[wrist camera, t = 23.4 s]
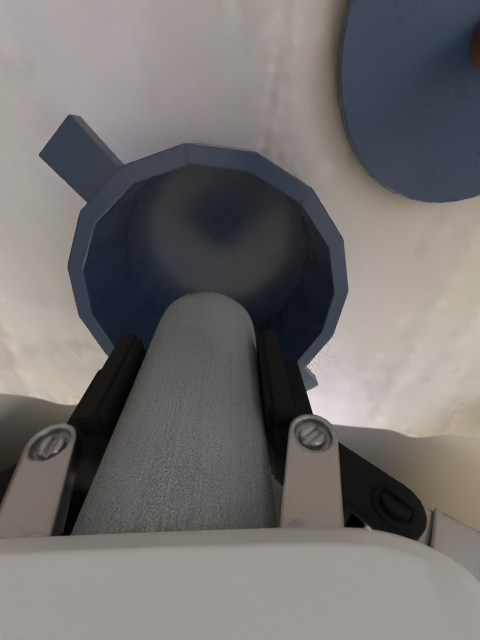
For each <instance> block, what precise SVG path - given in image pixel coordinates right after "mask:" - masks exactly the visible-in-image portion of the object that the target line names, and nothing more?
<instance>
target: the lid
mask: <svg viewBox="0 0 480 640" xmlns="http://www.w3.org/2000/svg"><path fill="white" fill-rule="evenodd" d="M338 92H339V102H340V109H341V116H342V120H343V124H344V128H345V131H346V135H347V137H348V140H349V142H350V145H351V147H352V149H353V152H354V153H355V155H356V157H357V158H358V160H359V162H360V163H361V165H362V166H363V168H364V169H365V170H366V171H367V172H368V173H369V175H370V176H371V177H372V178H373V179H374V180H376V181H377V182H378V183H379V184H380V185H382V186H383V187H385V188H386V189H388V190H390V191H391V192H393V193H395V194H398V195H400V196H403V197H406V198H409V199H412V200H417V201H422V202H436V203H443V202H453V201H459V200H464V199H468V198H472V197H475V196H478V195H480V0H349V3H348V7H347V11H346V15H345V18H344V24H343V30H342V36H341V42H340V50H339V64H338Z"/></svg>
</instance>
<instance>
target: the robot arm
mask: <svg viewBox="0 0 480 640" xmlns="http://www.w3.org/2000/svg"><path fill="white" fill-rule="evenodd" d="M145 356H146V351H145V348H144V344H143V341H142V339H138V337H137V336H136V335H135V336H121V337H120V339H119V340H118V342H117V344H116V346H115V347H114V349H113V351H112V352H111V354H110V356H109V357H108V359H107V361H106V363H105V364H104V366H103V368H102V369H100V370H99V371H98V372H97V374H96V375H95V377H94V379H93V380H92V382H91V384H90V385H89V387H88V389H87V390H86V392H85V394H84V395H83V397H82V399H81V400H80V402H79V404H78V405H77V407H76V409H75V411H74V412H73V414H72V415H71V417H70V419H69V421H68V422H67V424H56V425H53V426H50V427H48V428H46V429H44V430H42V431H40V432H39V433H38V434H36V435H35V436H34V437H33V438H32V439H31V440H30V441H29V442H28V443H27V445H26V446H25V448H24V450H23V452H22V454H21V457H20V459H19V461H18V463H16V464H15V465H13V466H11V467H10V468H8V469H6V470H5V471H3V472H1V473H0V640H480V531H478V530H476V529H474V528H472V527H470V526H468V525H467V524H465V523H462V522H461V521H459V520H457V519H455V518H453V517H452V516H450V515H448V514H446V513H444V512H442V511H440V510H439V509H437V508H435V509H434V510H431V509H429V508H427V507H425V506H423V505H422V503H421V501H420V500H419V499H418V498H417V496H416V495H415V494H414V493H413V492H412V491H411V490H410V489H408V488H407V487H406V486H405V485H403V484H402V483H400V482H399V481H397V480H395V479H394V478H392V477H391V476H389V475H388V474H386V473H385V472H383V471H382V470H380V469H379V468H377V467H375V466H374V465H373V464H371V463H369V462H368V461H366V460H365V459H363V458H362V457H360V456H359V455H357V454H356V453H354V452H353V451H351V450H350V449H348V448H346V447H345V446H344V445H342V444H341V443H339V442H338V438H337V433H336V430H335V429H334V427H333V426H332V424H331V423H330V422H328V421H327V420H326V419H324V418H322V417H321V416H317V415H314V414H313V413H312V409H311V406H310V403H309V399H308V396H307V392H306V389H305V386H304V382H303V379H302V375H301V372H300V369H299V365H298V363H297V361H284V362H283V359H282V355H281V350H280V346H279V342H278V337H277V333H276V330H262V334H257V358H258V367H259V376H260V385H261V394H262V402H263V411H264V420H265V429H266V437H267V445H268V454H269V463H270V465H271V473H272V475H274V478H275V479H276V480H277V481H278V482H279V483H280V484H281V485H283V486H284V488H283V498H282V509H281V520H280V528H258V529H228V530H198V531H172V532H146V533H121V534H96V535H73V536H70V535H71V532H72V530H73V528H74V525H75V523H76V521H77V518H78V516H79V513H80V511H81V509H82V506H83V504H84V501H85V499H86V497H87V494H88V492H89V489H90V487H91V485H92V482H93V480H94V477H95V475H96V473H97V470H98V468H99V466H100V463H101V461H102V458H103V456H104V454H105V451H106V449H107V446H108V444H109V442H110V439H111V437H112V434H113V432H114V430H115V427H116V425H117V422H118V420H119V418H120V415H121V413H122V411H123V408H124V406H125V403H126V401H127V399H128V396H129V394H130V391H131V389H132V387H133V384H134V382H135V379H136V377H137V375H138V372H139V370H140V367H141V365H142V363H143V360H144V358H145Z"/></svg>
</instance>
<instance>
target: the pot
mask: <svg viewBox="0 0 480 640" xmlns="http://www.w3.org/2000/svg"><path fill="white" fill-rule="evenodd" d="M39 156H40V157H41V158H42V159H43V160H44V161H45V162H46V163H47V164H48V165H49V166H50V167H51V168H52V169H53V170H54V171H55V172H56V173H57V174H58V175H59V176H60V177H61V178H62V179H63V180H65V181H66V182H67V183H68V184H69V185H70V186H71V187H72V188H73V189H74V190H75V191H76V192H77V193H78V194H79V195H80V196H81V197H82V198H83V199H84V200H85V201H86V202H87V204H86V205H85V207H84V208H83V209H82V210H81V211H80V214H79V218H78V222H77V226H76V231H75V235H74V239H73V244H72V248H71V252H70V257H69V261H68V272H69V276H70V280H71V284H72V289H73V293H74V297H75V302H76V306H77V310H78V314H79V317H80V318H81V319H82V321H83V322H84V324H85V325H86V327H87V328H88V329H89V331H90V332H91V334H92V335H93V336H94V338H95V339H96V341H97V342H98V343H99V345H100V346H101V348H102V349H103V350H104V352H105V353H106V354H107V355H108V356H110V354H111V352H112V351H113V349H114V347H115V346H116V344H117V342H118V340H119V339H120V337H121V336H135V335H136V336H137V337H138V339H142V341H143V344H144V348H145V351H146V353H147V351H148V348H149V346H150V344H151V341H152V339H153V336H154V334H155V332H156V329H157V327H158V324H159V322H160V320H161V318H162V316H163V314H164V313H165V311H166V309H167V308H168V307H169V306H170V305H171V304H172V303H173V302H174V301H176V300H177V299H179V298H181V297H183V296H185V295H188V294H191V293H196V292H214V293H219V294H222V295H225V296H227V297H230V298H231V299H233V300H235V301H236V302H238V303H239V304H240V305H241V306H242V307H243V308H244V309H245V310H246V311H247V313H248V314H249V316H250V318H251V320H252V323H253V327H254V332H255V339H256V348H257V334H262V330H276V333H277V337H278V342H279V346H280V350H281V355H282V359H283V362H284V361H297V363H298V365H299V369H300V372H301V375H302V379H303V382H304V386H305V389H306V391H308V390H310V389H312V388H314V387H315V386H317V385H318V383H317V380H316V377H315V375H314V374H313V373H312V372H311V371H310V370H309V369H308V367H307V365H308V364H309V363H310V361H311V360H312V359H313V358H314V357H315V356H316V355H317V353H318V352H319V351H320V350H321V349H322V348H323V347H324V345H325V344H326V343H327V342H328V341H329V340H330V339H331V337H332V336H333V334H334V331H335V328H336V325H337V323H338V320H339V317H340V314H341V311H342V308H343V305H344V302H345V299H346V297H347V294H348V281H347V271H346V260H345V250H344V241H343V238H342V236H341V234H340V233H339V231H338V229H337V228H336V226H335V225H334V223H333V221H332V220H331V218H330V216H329V215H328V213H327V211H326V210H325V208H324V206H323V205H322V203H321V202H320V200H319V198H318V197H317V195H316V193H315V192H314V190H313V189H312V188H311V187H309V186H308V185H306V184H305V183H303V182H302V181H300V180H299V179H297V178H296V177H294V176H292V175H291V174H289V173H288V172H286V171H285V170H283V169H282V168H280V167H279V166H277V165H275V164H274V163H272V162H271V161H269V160H268V159H266V158H265V157H263V156H261V155H260V154H258V153H257V152H254V151H251V150H248V149H241V148H233V147H226V146H217V145H209V144H196V143H186V144H181V145H178V146H175V147H173V148H170V149H167V150H164V151H161V152H159V153H156V154H153V155H150V156H147V157H145V158H142V159H139V160H136V161H134V162H131V163H128V164H125V165H124V164H123V163H122V162H121V161H120V160H119V159H118V158H117V157H116V155H115V154H114V153H113V152H112V151H111V150H110V149H109V148H108V147H107V145H106V144H105V143H104V142H103V141H102V140H101V139H100V138H99V137H98V136H97V134H96V133H95V132H94V131H93V130H92V129H91V128H90V127H89V126H88V125H87V123H86V122H85V121H84V120H83V119H82V118H81V117H80V116H76V115H71V114H69V115H68V116H67V118H66V119H65V120H64V122H63V123H62V124H61V126H60V127H59V128H58V130H57V131H56V132H55V134H54V135H53V136H52V138H51V139H50V140H49V142H48V143H47V144H46V146H45V147H44V148H43V150H42V151H41V152H40V154H39Z"/></svg>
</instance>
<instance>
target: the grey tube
mask: <svg viewBox="0 0 480 640" xmlns="http://www.w3.org/2000/svg"><path fill="white" fill-rule="evenodd" d="M258 528H277V525H276V516H275V507H274V498H273V489H272V480H271V472H270V463H269V454H268V445H267V437H266V429H265V420H264V411H263V402H262V394H261V385H260V376H259V367H258V358H257V348H256V339H255V332H254V327H253V323H252V320H251V318H250V316H249V314H248V313H247V311H246V310H245V309H244V308H243V307H242V306H241V305H240V304H239V303H238V302H236V301H235V300H233V299H231V298H230V297H227V296H225V295H222V294H219V293H214V292H196V293H191V294H188V295H185V296H183V297H181V298H179V299H177V300H176V301H174V302H173V303H172V304H171V305H170V306H169V307H168V308H167V309H166V311H165V313H164V314H163V316H162V318H161V320H160V322H159V324H158V327H157V329H156V332H155V334H154V336H153V339H152V341H151V344H150V346H149V348H148V351H147V353H146V356H145V358H144V360H143V363H142V365H141V367H140V370H139V372H138V375H137V377H136V379H135V382H134V384H133V387H132V389H131V391H130V394H129V396H128V399H127V401H126V403H125V406H124V408H123V411H122V413H121V415H120V418H119V420H118V422H117V425H116V427H115V430H114V432H113V434H112V437H111V439H110V442H109V444H108V446H107V449H106V451H105V454H104V456H103V458H102V461H101V463H100V466H99V468H98V470H97V473H96V475H95V477H94V480H93V482H92V485H91V487H90V489H89V492H88V494H87V497H86V499H85V501H84V504H83V506H82V509H81V511H80V513H79V516H78V518H77V521H76V523H75V525H74V528H73V530H72V532H71V535H70V536H73V535H96V534H121V533H146V532H172V531H198V530H228V529H258Z"/></svg>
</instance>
